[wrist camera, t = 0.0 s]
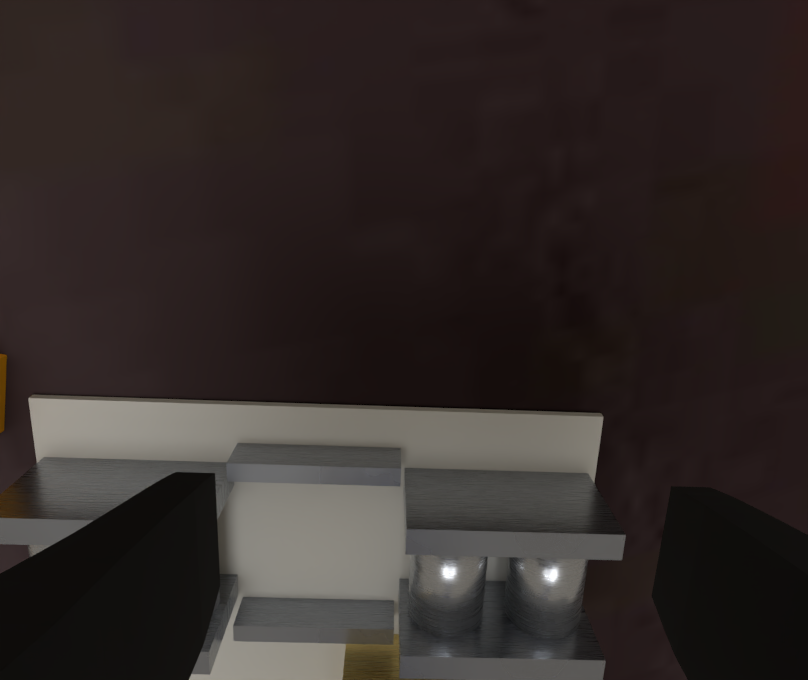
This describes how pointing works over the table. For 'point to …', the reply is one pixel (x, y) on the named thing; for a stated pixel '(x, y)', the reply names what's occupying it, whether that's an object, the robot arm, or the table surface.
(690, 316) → the table surface
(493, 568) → the mat
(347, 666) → the tan knob cube
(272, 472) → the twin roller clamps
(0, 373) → the pipe clamp
